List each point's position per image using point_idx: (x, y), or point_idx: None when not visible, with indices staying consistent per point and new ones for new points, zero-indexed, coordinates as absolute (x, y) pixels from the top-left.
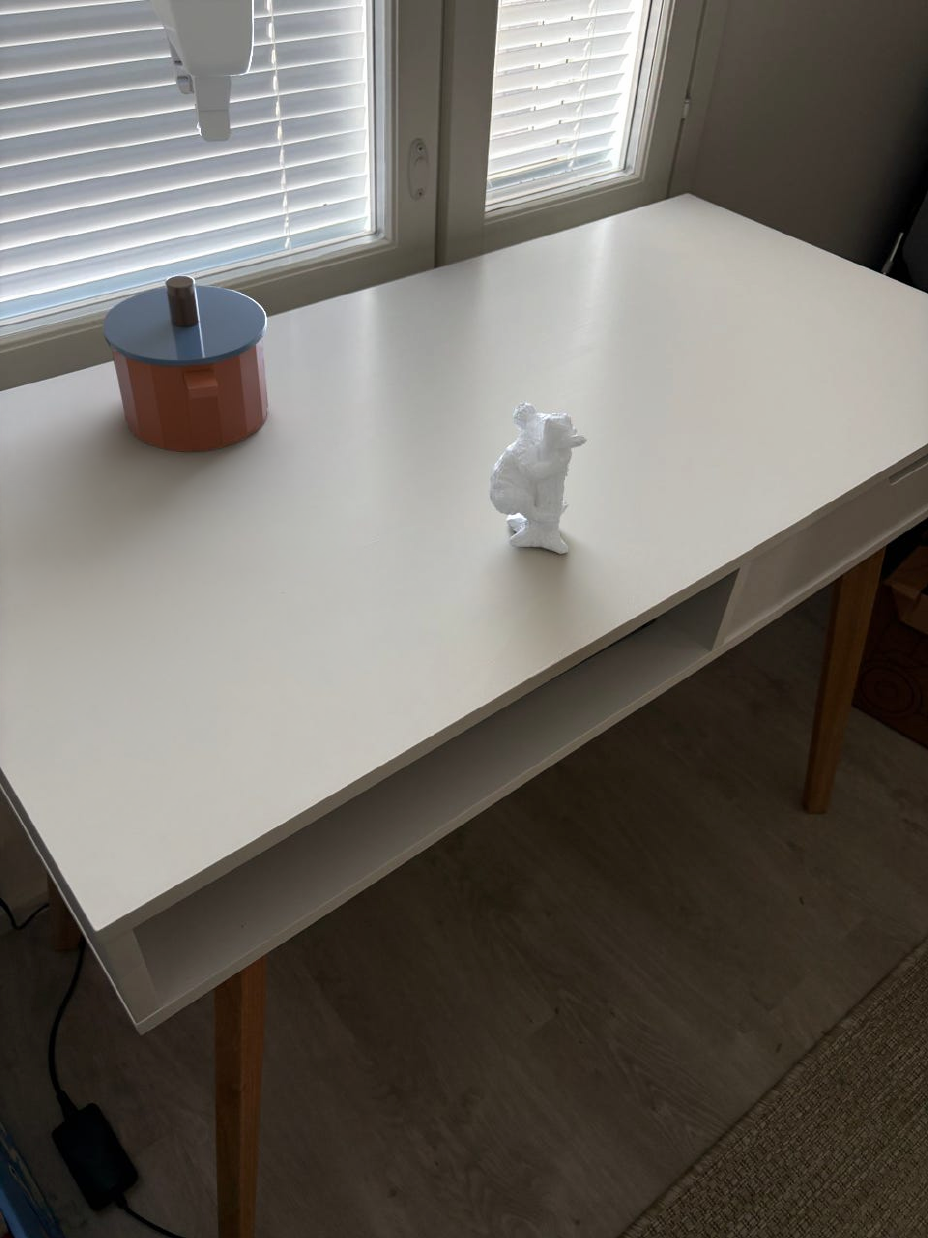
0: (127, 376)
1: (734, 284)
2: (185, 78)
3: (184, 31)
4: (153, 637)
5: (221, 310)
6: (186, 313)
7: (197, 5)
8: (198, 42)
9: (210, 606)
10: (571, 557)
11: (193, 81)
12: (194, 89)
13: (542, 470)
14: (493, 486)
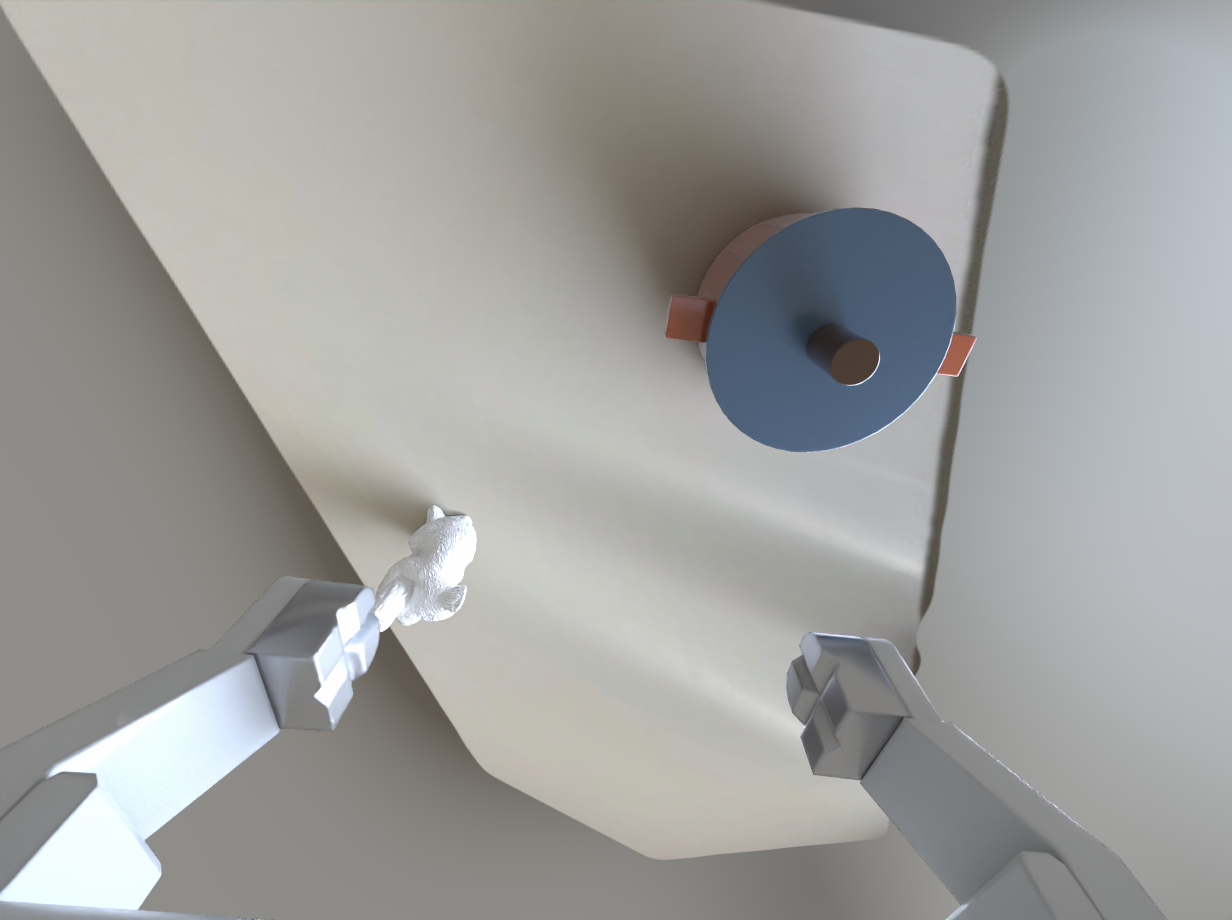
0: (787, 224)
1: (731, 794)
2: (826, 684)
3: None
4: (374, 127)
5: (827, 401)
6: (814, 349)
7: None
8: None
9: (413, 210)
10: None
11: (25, 768)
12: (95, 727)
13: (388, 573)
14: (444, 528)
